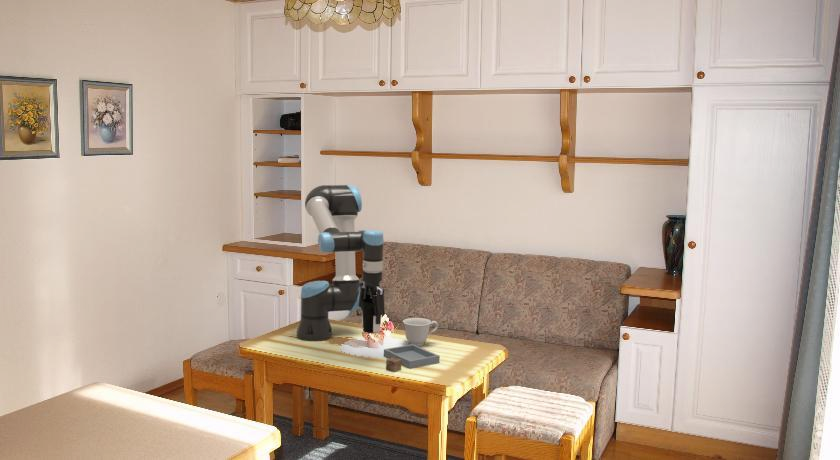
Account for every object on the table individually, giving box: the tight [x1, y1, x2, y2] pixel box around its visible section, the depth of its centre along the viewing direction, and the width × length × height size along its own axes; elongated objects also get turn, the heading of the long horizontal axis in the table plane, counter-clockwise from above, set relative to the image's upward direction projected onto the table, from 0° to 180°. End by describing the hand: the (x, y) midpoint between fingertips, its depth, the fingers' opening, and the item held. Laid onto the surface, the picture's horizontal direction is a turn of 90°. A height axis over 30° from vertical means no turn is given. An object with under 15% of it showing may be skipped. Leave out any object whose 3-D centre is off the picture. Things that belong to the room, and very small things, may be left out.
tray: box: [383, 344, 440, 369], centre depth 300 cm, size 18×14×3 cm
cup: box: [361, 298, 378, 334], centre depth 295 cm, size 8×8×12 cm
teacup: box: [402, 317, 439, 347], centre depth 321 cm, size 12×15×10 cm
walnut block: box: [385, 358, 402, 373], centre depth 287 cm, size 4×4×4 cm
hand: (370, 328), depth 295 cm, fingers closed on cup, 8 cm apart
